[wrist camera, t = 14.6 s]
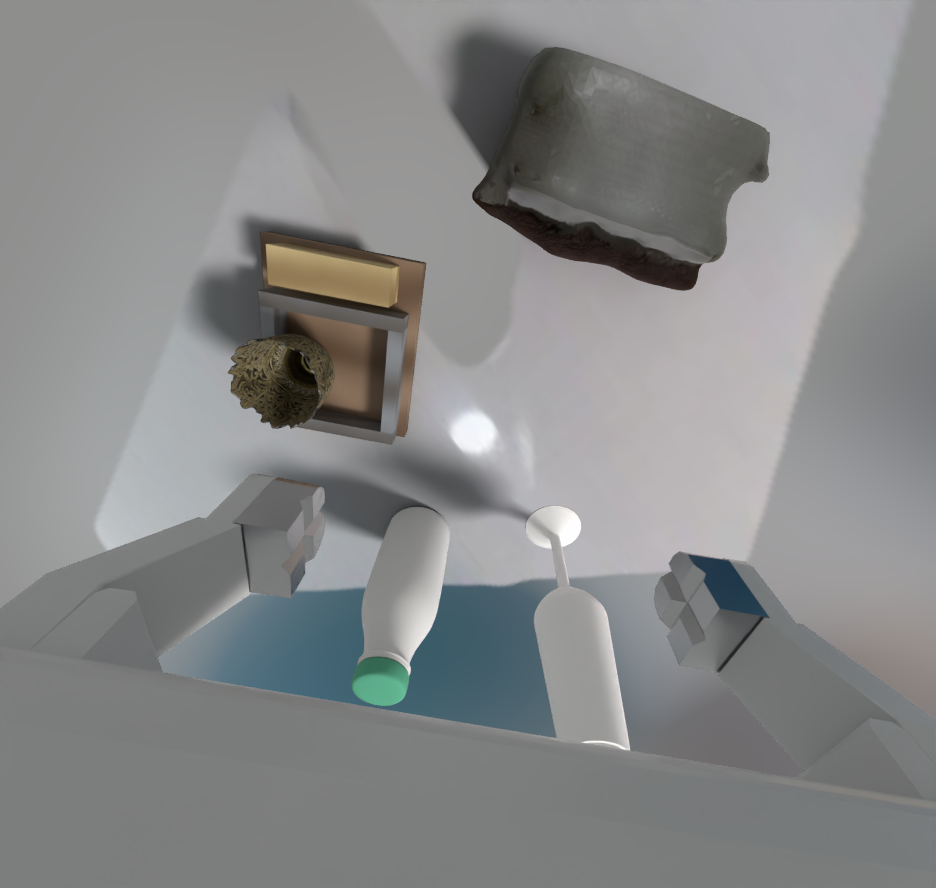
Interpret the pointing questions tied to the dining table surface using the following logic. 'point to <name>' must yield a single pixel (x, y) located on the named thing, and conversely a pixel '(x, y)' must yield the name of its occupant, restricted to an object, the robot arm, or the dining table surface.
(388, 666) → the milk bottle
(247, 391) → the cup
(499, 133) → the dining table surface
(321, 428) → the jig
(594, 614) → the champagne flute
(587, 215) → the rock
